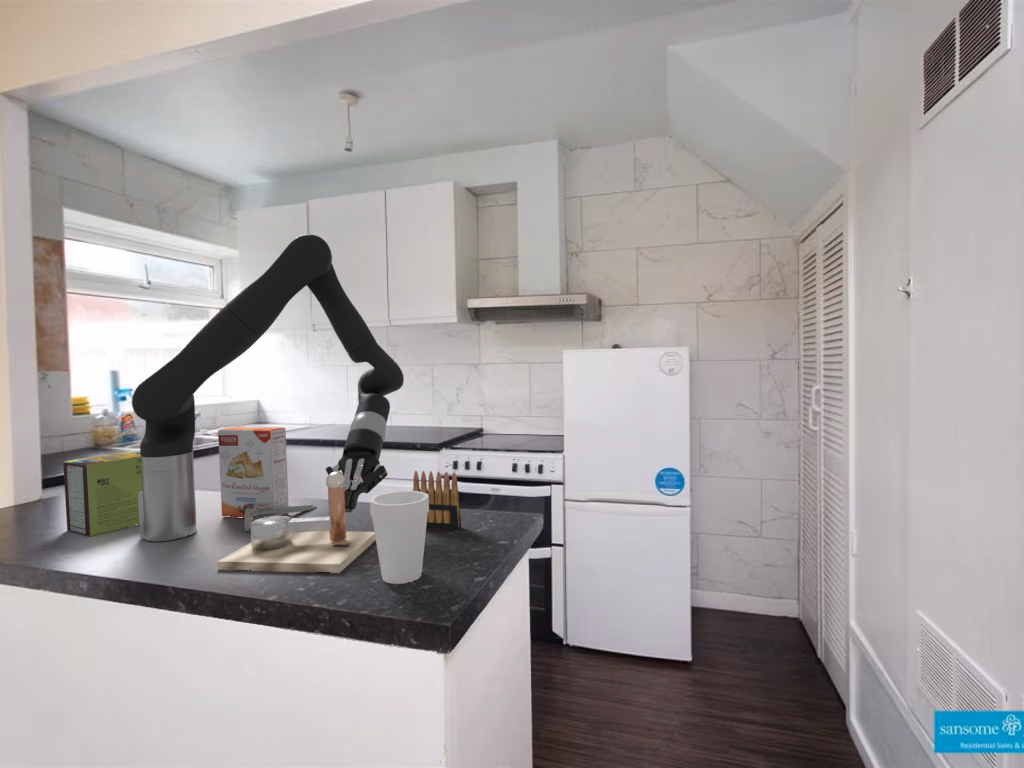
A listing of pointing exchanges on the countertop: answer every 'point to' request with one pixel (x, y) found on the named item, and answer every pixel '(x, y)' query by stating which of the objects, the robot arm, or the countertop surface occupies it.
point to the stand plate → (301, 554)
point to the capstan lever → (304, 520)
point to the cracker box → (252, 468)
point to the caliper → (270, 512)
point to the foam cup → (400, 533)
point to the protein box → (102, 492)
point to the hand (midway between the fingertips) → (346, 510)
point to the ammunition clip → (440, 501)
